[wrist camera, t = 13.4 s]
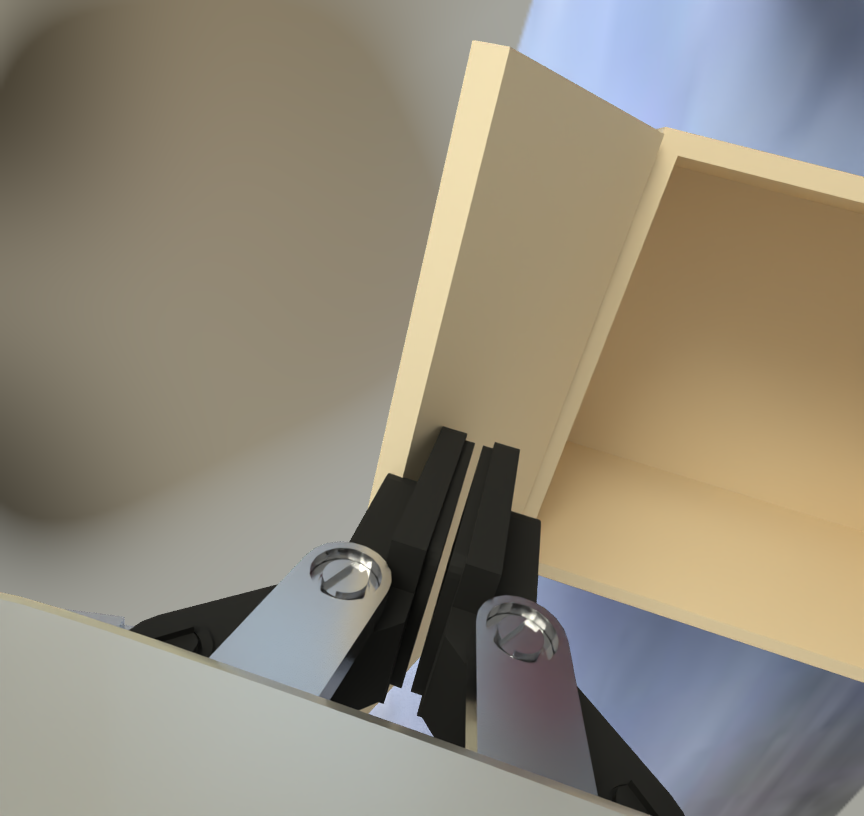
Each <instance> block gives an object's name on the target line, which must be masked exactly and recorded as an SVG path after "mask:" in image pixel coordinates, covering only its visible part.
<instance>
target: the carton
mask: <svg viewBox="0 0 864 816" xmlns="http://www.w3.org/2000/svg"><path fill="white" fill-rule="evenodd" d="M656 130H658V131H660V132H661V133H663V134H665V135H664V137H663V140H662V143H661V145H660V148H659V151H658V153H657V156H656V159H655V161H654V164H653V167H652V169H651V172H650V175H649V177H648V180H647V183H646V185H645V188H644V191H643V193H642V196H641V199H640V201H639V204H638V207H637V209H636V212H635V215H634V217H633V220H632V223H631V225H630V228H629V231H628V233H627V236H626V239H625V241H624V244H623V247H622V249H621V252H620V255H619V257H618V260H617V263H616V265H615V268H614V271H613V273H612V276H611V279H610V281H609V284H608V287H607V289H606V292H605V295H604V297H603V300H602V303H601V305H600V308H599V311H598V313H597V316H596V319H595V321H594V324H593V327H592V329H591V332H590V335H589V337H588V340H587V343H586V345H585V348H584V351H583V353H582V356H581V359H580V361H579V364H578V367H577V369H576V372H575V375H574V377H573V380H572V383H571V385H570V388H569V391H568V393H567V396H566V399H565V401H564V404H563V407H562V409H561V412H560V415H559V417H558V420H557V423H556V425H555V428H554V431H553V433H552V436H551V439H550V441H549V444H548V447H547V449H546V452H545V455H544V457H543V460H542V463H541V465H540V468H539V471H538V473H537V476H536V479H535V481H534V484H533V487H532V489H531V492H530V495H529V497H528V500H527V503H526V505H525V508H524V511H523V513H522V514H523V515H526V516H529V517H532V518H536V519H539V520H540V521H541V536H540V553H539V569H538V575H540V576H543V577H546V578H549V579H552V580H555V581H558V582H561V583H564V584H567V585H570V586H573V587H576V588H579V589H582V590H585V591H588V592H591V593H594V594H597V595H600V596H603V597H606V598H609V599H612V600H615V601H618V602H621V603H624V604H627V605H630V606H634V607H637V608H640V609H643V610H646V611H649V612H652V613H655V614H658V615H661V616H664V617H667V618H670V619H673V620H676V621H679V622H682V623H685V624H688V625H691V626H694V627H697V628H700V629H703V630H706V631H709V632H712V633H715V634H718V635H721V636H724V637H727V638H730V639H733V640H736V641H739V642H742V643H745V644H748V645H751V646H755V647H758V648H761V649H764V650H767V651H770V652H773V653H776V654H779V655H782V656H785V657H788V658H791V659H794V660H797V661H800V662H803V663H806V664H809V665H812V666H815V667H818V668H821V669H824V670H827V671H830V672H833V673H836V674H839V675H842V676H845V677H848V678H851V679H854V680H857V681H860V682H863V683H864V177H862V176H858V175H854V174H850V173H846V172H842V171H838V170H834V169H830V168H826V167H822V166H818V165H814V164H811V163H807V162H803V161H799V160H795V159H791V158H787V157H783V156H779V155H775V154H771V153H767V152H763V151H759V150H755V149H751V148H747V147H743V146H739V145H735V144H731V143H727V142H723V141H719V140H715V139H711V138H707V137H703V136H699V135H695V134H691V133H688V132H684V131H680V130H676V129H672V128H668V127H663V128H660V129H656Z"/></svg>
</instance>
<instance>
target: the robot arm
mask: <svg viewBox="0 0 864 816" xmlns="http://www.w3.org/2000/svg"><path fill="white" fill-rule="evenodd" d="M466 438H467V433H464V432H461V431H457V430H454V429H451V428H447V427H444V426H443V427H442V429H441V431H440V433H439V435H438V437H437V440H436V442H435V444H434V446H433V449H432V451H431V453H430V455H429V457H428V460H427V462H426V464H425V466H424V469H423V471H422V473H421V475H420V478H419V480H418V482H417V481H414V480H411V479H408V478H402V477H399V476H397V475H394V474H391V473H388V474H387V476H386V477H385V479H384V481H383V483H382V484H381V486H380V488H379V490H378V491H377V493H376V495H375V497H374V499H373V500H372V502H371V504H370V506H369V508H368V510H367V511H366V513H365V515H364V517H363V519H362V520H361V522H360V524H359V526H358V527H357V529H356V531H355V533H354V535H353V536H352V538H351V540H350V542H332V543H326V544H323V545H321V546H318V547H316V548H314V549H313V550H312V551H310V552H309V553H308V554H306V555H305V556H304V557H303V559H302V560H301V561H300V562H299V563H298V564H297V565H296V566H295V567H294V568H293V569H292V570H291V571H290V572H289V573H288V574H287V576H286V577H285V578H284V579H283V580H282V581H281V582H280V583H279V584H277V585H274V586H270V587H266V588H262V589H258V590H254V591H250V592H246V593H243V594H239V595H235V596H231V597H227V598H223V599H219V600H215V601H211V602H208V603H204V604H200V605H196V606H192V607H189V608H185V609H181V610H177V611H173V612H169V613H165V614H161V615H158V616H155V617H153V618H150V619H147V620H144V621H142V622H140V623H139V624H137V625H136V626H127V625H124V617H120V616H113V615H105V614H97V613H90V612H82V611H74V610H67V609H61V608H58V607H54V606H51V605H47V604H44V603H41V602H37V601H33V600H30V599H27V598H23V597H20V596H16V595H11V594H6V593H2V592H0V816H685V815H684V813H683V811H682V810H681V809H680V807H679V806H678V804H677V803H676V802H675V800H674V799H673V797H672V796H671V795H670V793H669V792H668V791H667V790H666V789H665V788H664V787H663V785H662V784H661V783H660V782H659V781H658V780H657V778H656V777H655V776H654V775H653V774H652V773H651V771H650V770H649V769H648V768H647V767H646V766H645V764H644V763H643V762H642V761H641V760H640V759H639V757H638V756H637V755H636V754H635V753H634V752H633V751H632V749H631V748H630V747H629V746H628V745H627V744H626V742H625V741H624V740H623V739H622V738H621V737H620V735H619V734H618V733H617V732H616V731H615V730H614V728H613V727H612V726H611V725H610V724H609V723H608V722H607V720H606V719H605V718H604V717H603V716H602V715H601V713H600V712H599V711H598V710H597V709H596V708H595V706H594V705H593V704H592V703H591V702H590V701H589V699H588V698H587V697H586V696H585V695H584V694H583V692H582V691H581V690H580V689H579V688H578V687H577V685H576V679H575V674H574V669H573V664H572V658H571V653H570V648H569V643H568V639H567V636H566V634H565V631H564V629H563V627H562V626H561V625H560V623H559V622H558V620H557V619H556V618H555V617H554V616H553V615H552V614H551V613H550V612H549V611H547V610H546V609H545V608H544V607H542V606H540V605H538V604H537V603H536V602H537V586H538V569H539V553H540V536H541V521H540V520H539V519H536V518H532V517H529V516H526V515H523V514H520V513H516V512H513V511H511V508H512V502H513V495H514V488H515V481H516V475H517V468H518V461H519V454H520V449H517V448H514V447H510V446H507V445H504V444H500V443H497V442H495V443H494V446H493V448H490V447H487V446H484V445H483V447H482V450H481V454H480V457H479V460H478V464H477V467H476V470H475V473H474V477H473V480H472V483H471V487H470V490H469V493H468V496H467V500H466V503H465V506H464V510H463V513H462V516H461V519H460V523H459V526H458V529H457V533H456V536H455V539H454V542H453V546H452V549H451V552H450V556H449V559H448V563H447V566H446V570H445V573H444V577H443V580H442V584H441V587H440V591H439V594H438V598H437V601H436V605H435V608H434V612H433V615H432V619H431V622H430V626H429V629H428V633H427V636H426V640H425V643H424V647H423V650H422V654H421V657H420V661H419V664H418V668H417V671H416V675H415V678H414V682H413V685H412V689H411V692H414V693H417V694H419V695H422V698H421V701H420V705H419V709H418V713H417V716H420V717H422V718H423V720H424V721H425V723H426V725H427V726H428V728H429V730H430V731H431V733H432V735H433V736H434V737H432V736H429V735H426V734H423V733H420V732H418V731H415V730H412V729H409V728H406V727H404V726H401V725H398V724H395V723H392V722H390V721H387V720H384V719H381V718H378V717H376V716H373V715H370V714H367V713H364V712H361V711H359V710H361V709H364V708H366V707H368V706H371V705H373V704H375V703H378V702H380V703H383V704H384V701H385V698H386V695H387V692H388V689H389V686H390V684H391V685H394V686H396V687H399V688H402V685H403V681H404V678H405V675H406V671H407V668H408V665H409V662H410V658H411V655H412V652H413V649H414V645H415V642H416V639H417V635H418V632H419V629H420V626H421V622H422V619H423V616H424V613H425V609H426V606H427V603H428V599H429V596H430V593H431V590H432V586H433V583H434V580H435V577H436V573H437V570H438V567H439V563H440V560H441V557H442V554H443V550H444V547H445V544H446V540H447V537H448V533H449V530H450V527H451V523H452V520H453V517H454V513H455V510H456V506H457V503H458V500H459V496H460V493H461V490H462V486H463V483H464V480H465V476H466V473H467V469H468V466H469V463H470V459H471V456H472V453H473V449H474V446H475V443H474V442H470V441H467V440H466Z"/></svg>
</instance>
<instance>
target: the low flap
mask: <svg viewBox="0 0 864 816" xmlns="http://www.w3.org/2000/svg"><path fill="white" fill-rule="evenodd" d="M664 135H665V134H663V133H661V132H660V131H658V130H656V129H654V128H653V127H651V126H649V125H647V124H646V123H644V122H642V121H640V120H638V119H637V118H635V117H633V116H631V115H630V114H628V113H626V112H624V111H623V110H621V109H619V108H617V107H616V106H614V105H612V104H610V103H608V102H607V101H605V100H603V99H601V98H600V97H598V96H596V95H594V94H593V93H591V92H589V91H587V90H585V89H584V88H582V87H580V86H578V85H577V84H575V83H573V82H571V81H570V80H568V79H566V78H564V77H562V76H561V75H559V74H557V73H555V72H554V71H552V70H550V69H548V68H547V67H545V66H543V65H541V64H539V63H538V62H536V61H534V60H532V59H531V58H529V57H527V56H525V55H524V54H522V53H520V52H518V51H516V50H515V49H513V48H511V47H508V46H502V45H497V44H491V43H486V42H480V41H475V40H473V41H472V45H471V50H470V54H469V59H468V63H467V68H466V73H465V77H464V81H463V85H462V90H461V94H460V99H459V103H458V108H457V112H456V117H455V121H454V126H453V130H452V135H451V140H450V144H449V148H448V152H447V157H446V162H445V166H444V170H443V175H442V179H441V184H440V188H439V193H438V197H437V202H436V206H435V211H434V215H433V220H432V224H431V229H430V233H429V237H428V242H427V247H426V251H425V255H424V260H423V264H422V269H421V273H420V277H419V282H418V287H417V291H416V295H415V300H414V304H413V309H412V313H411V318H410V322H409V327H408V331H407V336H406V340H405V344H404V349H403V354H402V358H401V362H400V367H399V371H398V376H397V380H396V385H395V389H394V394H393V398H392V402H391V407H390V411H389V416H388V420H387V425H386V430H385V434H384V438H383V443H382V448H381V452H380V456H379V461H378V465H377V470H376V474H375V479H374V483H373V488H372V492H371V497H370V501H369V506H370V504H371V502H372V500H373V499H374V497H375V495H376V493H377V491H378V490H379V488H380V486H381V484H382V483H383V481H384V479H385V477H386V476H387V474H388V473H391V474H394V475H397V476H399V477H402V478H408V479H411V480H414V481H417V482H418V480H419V478H420V475H421V473H422V471H423V469H424V466H425V464H426V462H427V460H428V457H429V455H430V453H431V451H432V449H433V446H434V444H435V442H436V440H437V437H438V435H439V433H440V431H441V429H442V427H443V426H444V427H447V428H451V429H454V430H457V431H461V432H464V433H467V438H466V440H467V441H470V442H474V443H475V446H474V449H473V453H472V456H471V459H470V463H469V466H468V469H467V473H466V476H465V480H464V483H463V486H462V490H461V493H460V496H459V500H458V503H457V506H456V510H455V513H454V517H453V520H452V523H451V527H450V530H449V533H448V537H447V540H446V544H445V547H444V550H443V554H442V557H441V560H440V563H439V567H438V570H437V573H436V577H435V580H434V583H433V586H432V590H431V593H430V596H429V599H428V603H427V606H426V609H425V613H424V616H423V619H422V622H421V626H420V629H419V632H418V635H417V639H416V642H415V645H414V649H413V652H412V655H411V658H410V662H409V665H408V668H407V671H408V670H409V668H410V667H411V666H412V665H413V664H414V663H415V662H416V661H417V660H418V659H419V657H420V656H421V654H422V650H423V647H424V643H425V640H426V636H427V633H428V629H429V626H430V622H431V619H432V615H433V612H434V608H435V605H436V601H437V598H438V594H439V591H440V587H441V584H442V580H443V577H444V573H445V570H446V566H447V563H448V559H449V556H450V552H451V549H452V546H453V542H454V539H455V536H456V533H457V529H458V526H459V523H460V519H461V516H462V513H463V510H464V506H465V503H466V500H467V496H468V493H469V490H470V487H471V483H472V480H473V477H474V473H475V470H476V467H477V464H478V460H479V457H480V454H481V450H482V447H483V445H484V446H487V447H490V448H493V446H494V443H495V442H497V443H500V444H504V445H507V446H510V447H514V448H517V449H520V454H519V461H518V468H517V475H516V481H515V488H514V495H513V502H512V508H511V511H513V512H516V513H520V514H522V513H523V511H524V508H525V505H526V503H527V500H528V497H529V495H530V492H531V489H532V487H533V484H534V481H535V479H536V476H537V473H538V471H539V468H540V465H541V463H542V460H543V457H544V455H545V452H546V449H547V447H548V444H549V441H550V439H551V436H552V433H553V431H554V428H555V425H556V423H557V420H558V417H559V415H560V412H561V409H562V407H563V404H564V401H565V399H566V396H567V393H568V391H569V388H570V385H571V383H572V380H573V377H574V375H575V372H576V369H577V367H578V364H579V361H580V359H581V356H582V353H583V351H584V348H585V345H586V343H587V340H588V337H589V335H590V332H591V329H592V327H593V324H594V321H595V319H596V316H597V313H598V311H599V308H600V305H601V303H602V300H603V297H604V295H605V292H606V289H607V287H608V284H609V281H610V279H611V276H612V273H613V271H614V268H615V265H616V263H617V260H618V257H619V255H620V252H621V249H622V247H623V244H624V241H625V239H626V236H627V233H628V231H629V228H630V225H631V223H632V220H633V217H634V215H635V212H636V209H637V207H638V204H639V201H640V199H641V196H642V193H643V191H644V188H645V185H646V183H647V180H648V177H649V175H650V172H651V169H652V167H653V164H654V161H655V159H656V156H657V153H658V151H659V148H660V145H661V143H662V140H663V137H664ZM369 506H368V508H369ZM407 671H406V672H407ZM393 686H394V685H391V684H390V686H389V689H388V692H389V690H390V689H391V688H392V687H393ZM388 692H387V693H388ZM378 703H379V702H378ZM378 703H375V704H373V705H371V706H368V707H366V708H364V709H361V710H359V711H361V712H364V713H367V714H369V712H370V711H371V710H372V709H373V708H374V707H375V706H376V705H377V704H378Z"/></svg>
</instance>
